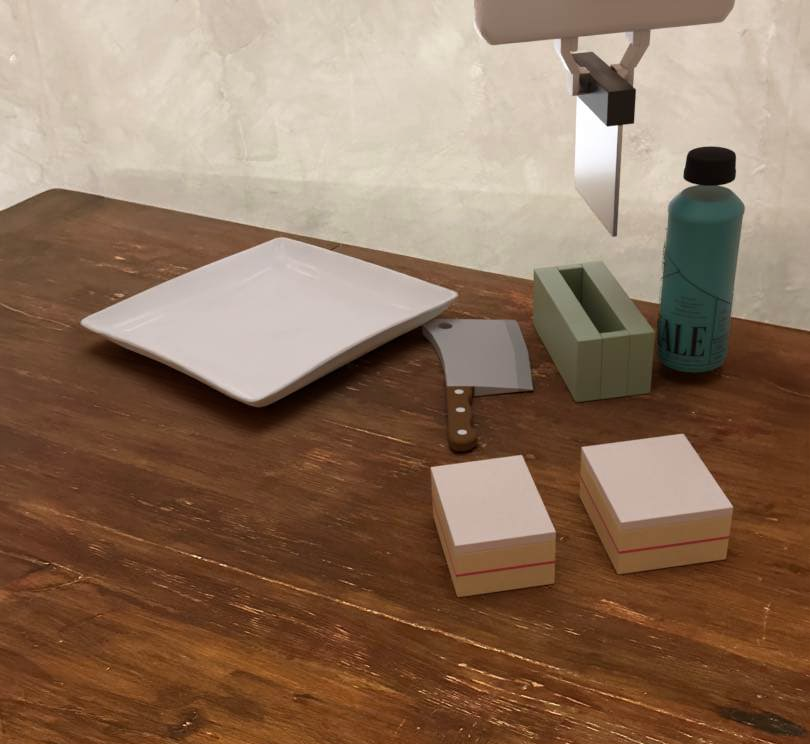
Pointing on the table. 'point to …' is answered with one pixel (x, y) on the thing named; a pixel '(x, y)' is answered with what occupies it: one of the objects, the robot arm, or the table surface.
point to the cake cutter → (601, 137)
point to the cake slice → (492, 526)
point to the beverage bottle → (700, 264)
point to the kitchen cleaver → (477, 367)
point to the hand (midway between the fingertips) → (599, 91)
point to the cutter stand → (592, 331)
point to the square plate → (270, 318)
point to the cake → (654, 504)
